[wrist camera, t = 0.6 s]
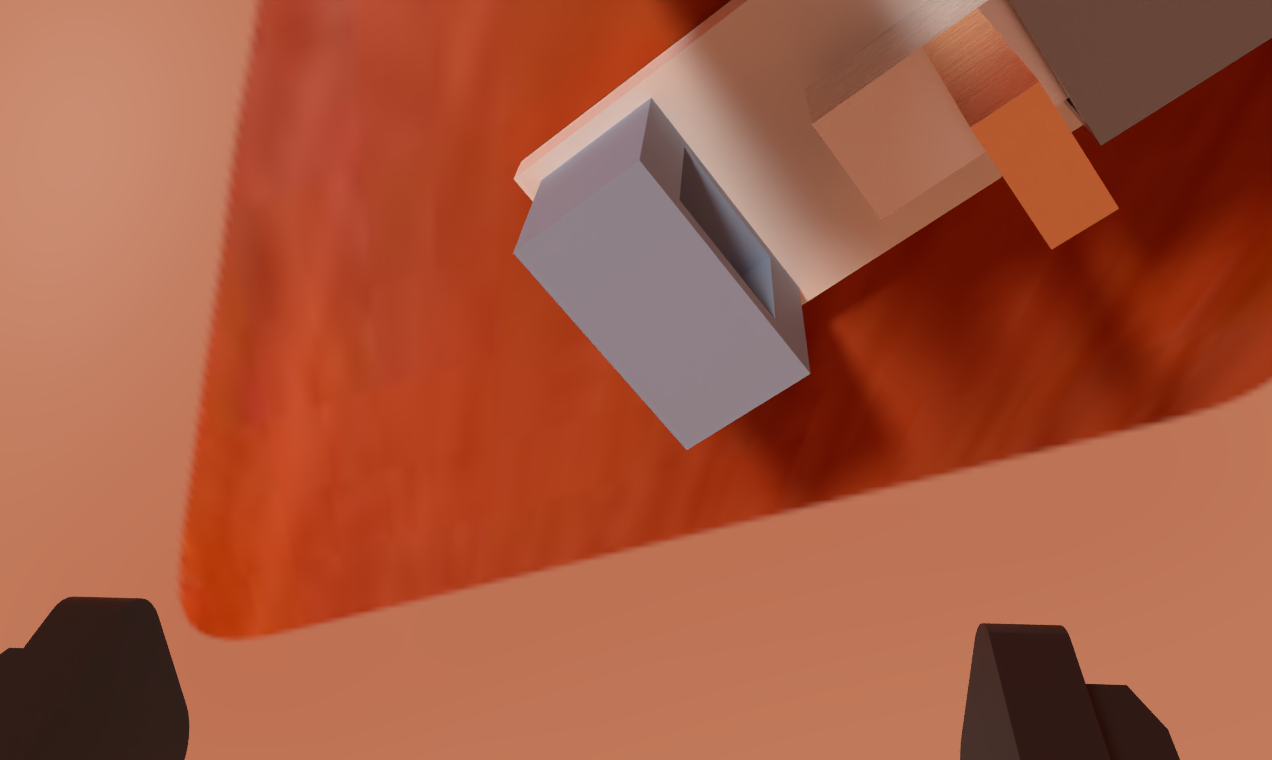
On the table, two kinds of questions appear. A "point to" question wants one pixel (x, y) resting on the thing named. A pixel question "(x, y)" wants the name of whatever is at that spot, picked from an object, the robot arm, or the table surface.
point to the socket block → (666, 277)
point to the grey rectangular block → (1138, 51)
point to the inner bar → (957, 115)
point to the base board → (774, 131)
